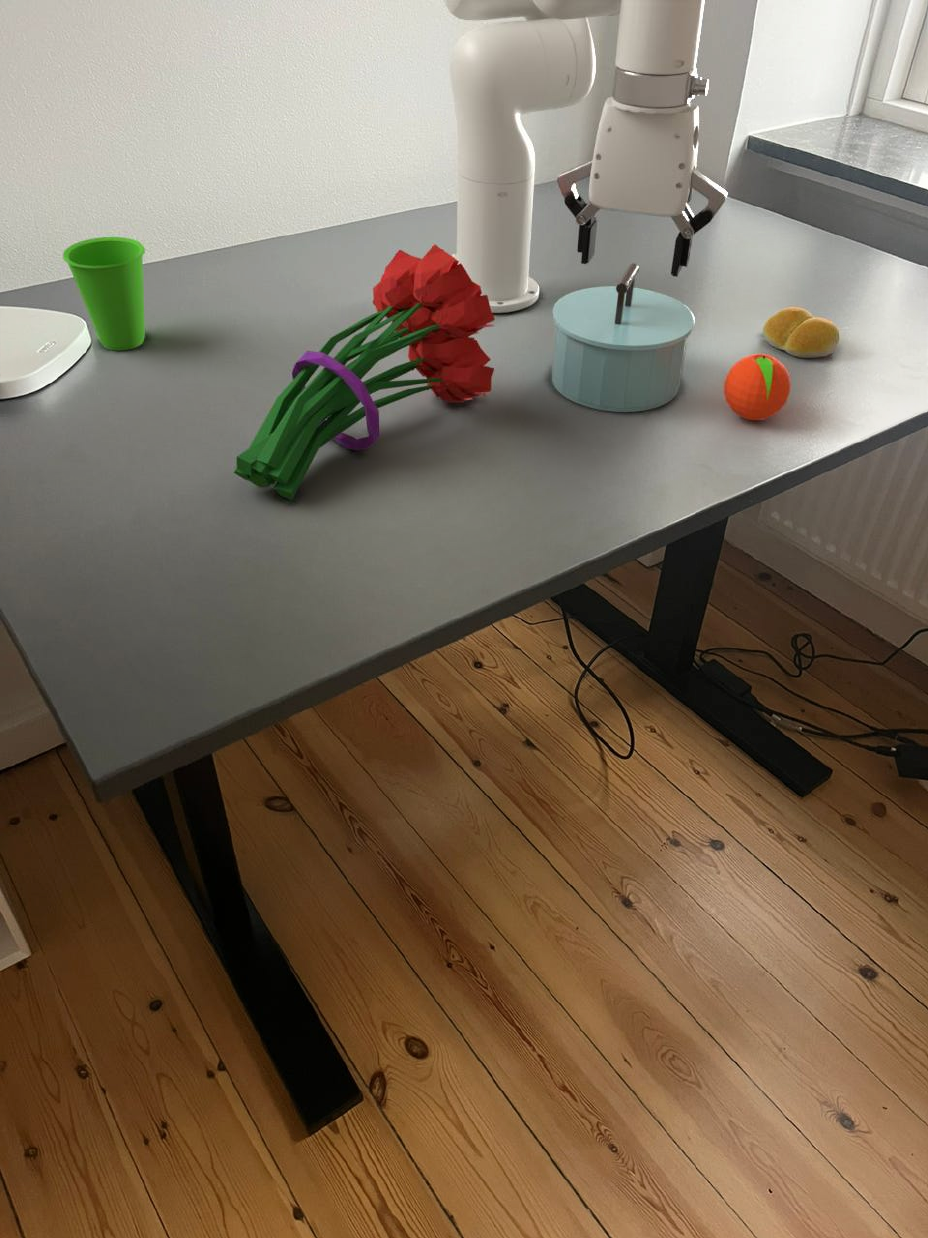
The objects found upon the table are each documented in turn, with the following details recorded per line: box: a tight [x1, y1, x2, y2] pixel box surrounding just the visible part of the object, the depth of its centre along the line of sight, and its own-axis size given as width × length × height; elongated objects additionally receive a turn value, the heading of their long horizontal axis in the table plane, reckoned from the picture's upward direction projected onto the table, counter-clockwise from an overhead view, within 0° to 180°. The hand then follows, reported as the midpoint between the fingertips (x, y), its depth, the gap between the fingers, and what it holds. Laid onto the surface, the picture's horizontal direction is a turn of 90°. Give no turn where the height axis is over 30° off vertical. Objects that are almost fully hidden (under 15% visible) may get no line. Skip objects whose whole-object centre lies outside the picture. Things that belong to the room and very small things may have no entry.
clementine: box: [723, 353, 792, 421], centre depth 108 cm, size 8×7×7 cm
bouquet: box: [233, 243, 495, 501], centre depth 101 cm, size 20×16×30 cm
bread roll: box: [762, 306, 840, 359], centre depth 124 cm, size 8×9×4 cm
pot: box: [550, 324, 689, 413], centre depth 114 cm, size 15×15×8 cm
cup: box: [62, 236, 146, 351], centre depth 119 cm, size 9×9×11 cm
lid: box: [551, 262, 696, 351], centre depth 110 cm, size 16×16×6 cm
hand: (631, 265), depth 108 cm, fingers open, 9 cm apart
